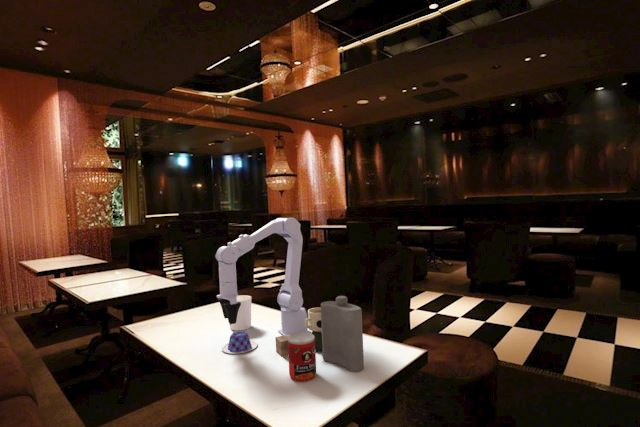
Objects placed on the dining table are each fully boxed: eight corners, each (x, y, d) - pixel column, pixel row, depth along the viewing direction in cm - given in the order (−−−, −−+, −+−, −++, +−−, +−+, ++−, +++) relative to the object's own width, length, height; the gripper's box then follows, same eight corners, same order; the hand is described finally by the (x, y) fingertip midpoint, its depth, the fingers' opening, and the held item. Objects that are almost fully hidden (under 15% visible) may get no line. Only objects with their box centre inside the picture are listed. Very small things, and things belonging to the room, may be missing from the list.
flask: (369, 366, 106) (366, 298, 106) (356, 373, 102) (353, 303, 101) (332, 353, 117) (330, 291, 116) (319, 359, 113) (317, 295, 112)
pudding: (214, 351, 124) (213, 336, 124) (241, 340, 133) (240, 325, 133) (238, 358, 117) (237, 342, 117) (264, 346, 126) (263, 331, 126)
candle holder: (240, 332, 141) (239, 302, 140) (223, 329, 146) (221, 299, 146) (257, 325, 149) (256, 296, 149) (240, 322, 154) (239, 294, 154)
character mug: (313, 356, 115) (311, 315, 115) (300, 350, 121) (298, 311, 120) (339, 347, 122) (337, 308, 122) (325, 341, 127) (324, 304, 127)
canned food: (294, 384, 97) (293, 344, 97) (285, 373, 104) (283, 335, 104) (321, 378, 100) (319, 338, 100) (310, 367, 107) (308, 330, 107)
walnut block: (290, 349, 122) (289, 334, 122) (295, 353, 118) (295, 338, 118) (276, 352, 120) (275, 337, 120) (281, 357, 115) (280, 341, 115)
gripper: (212, 279, 128) (214, 317, 129) (220, 286, 115) (222, 328, 116) (232, 276, 132) (234, 313, 132) (242, 283, 119) (244, 324, 119)
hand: (230, 320), depth 124 cm, fingers open, 7 cm apart
